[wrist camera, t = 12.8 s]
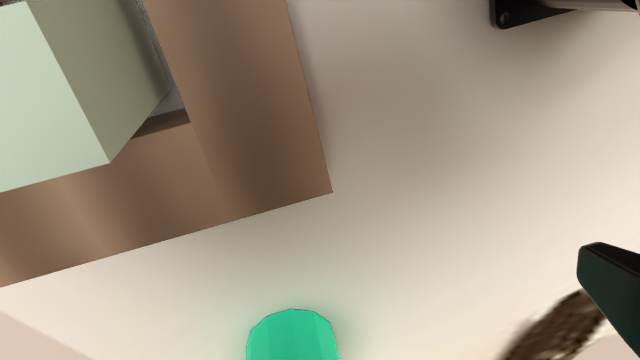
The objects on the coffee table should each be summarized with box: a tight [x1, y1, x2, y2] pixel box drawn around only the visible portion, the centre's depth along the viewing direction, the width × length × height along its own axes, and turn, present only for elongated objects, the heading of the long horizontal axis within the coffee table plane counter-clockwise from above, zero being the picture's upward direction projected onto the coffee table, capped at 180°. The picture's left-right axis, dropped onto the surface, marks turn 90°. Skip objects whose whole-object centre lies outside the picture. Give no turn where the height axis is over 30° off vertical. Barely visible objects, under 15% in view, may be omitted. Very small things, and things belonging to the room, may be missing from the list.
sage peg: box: [0, 0, 171, 192], centre depth 13 cm, size 4×4×9 cm
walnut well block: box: [0, 0, 333, 287], centre depth 16 cm, size 16×16×3 cm
